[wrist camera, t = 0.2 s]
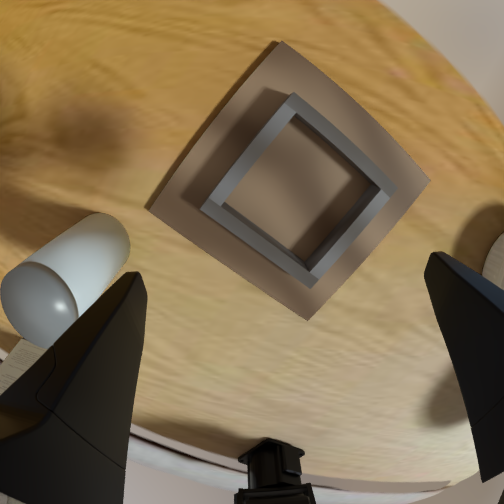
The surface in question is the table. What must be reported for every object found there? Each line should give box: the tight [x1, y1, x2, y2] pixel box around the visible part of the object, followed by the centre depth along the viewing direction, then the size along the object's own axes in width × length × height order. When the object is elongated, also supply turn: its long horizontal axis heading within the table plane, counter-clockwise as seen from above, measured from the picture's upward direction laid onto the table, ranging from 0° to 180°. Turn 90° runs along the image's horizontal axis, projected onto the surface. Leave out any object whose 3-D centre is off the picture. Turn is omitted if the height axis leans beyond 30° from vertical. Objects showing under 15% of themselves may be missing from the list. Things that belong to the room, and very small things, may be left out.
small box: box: [0, 339, 47, 395], centre depth 24 cm, size 8×6×13 cm
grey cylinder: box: [0, 213, 130, 349], centre depth 20 cm, size 5×5×11 cm
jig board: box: [149, 41, 431, 321], centre depth 22 cm, size 16×16×3 cm
